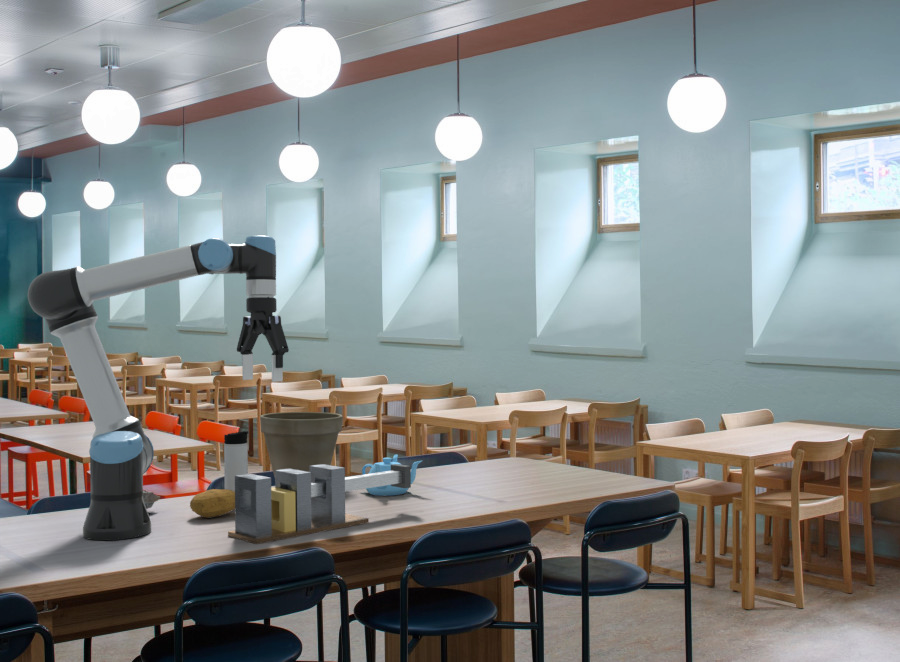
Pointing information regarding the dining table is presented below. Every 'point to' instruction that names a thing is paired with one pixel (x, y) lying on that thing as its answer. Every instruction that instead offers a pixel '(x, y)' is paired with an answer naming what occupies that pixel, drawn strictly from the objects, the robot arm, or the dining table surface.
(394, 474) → the shaft
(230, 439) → the travel mug
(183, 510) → the dining table surface
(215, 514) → the potato
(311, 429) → the plant pot
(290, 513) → the spacer
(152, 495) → the mineral specimen
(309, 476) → the bearing rail
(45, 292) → the robot arm
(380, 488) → the teapot
